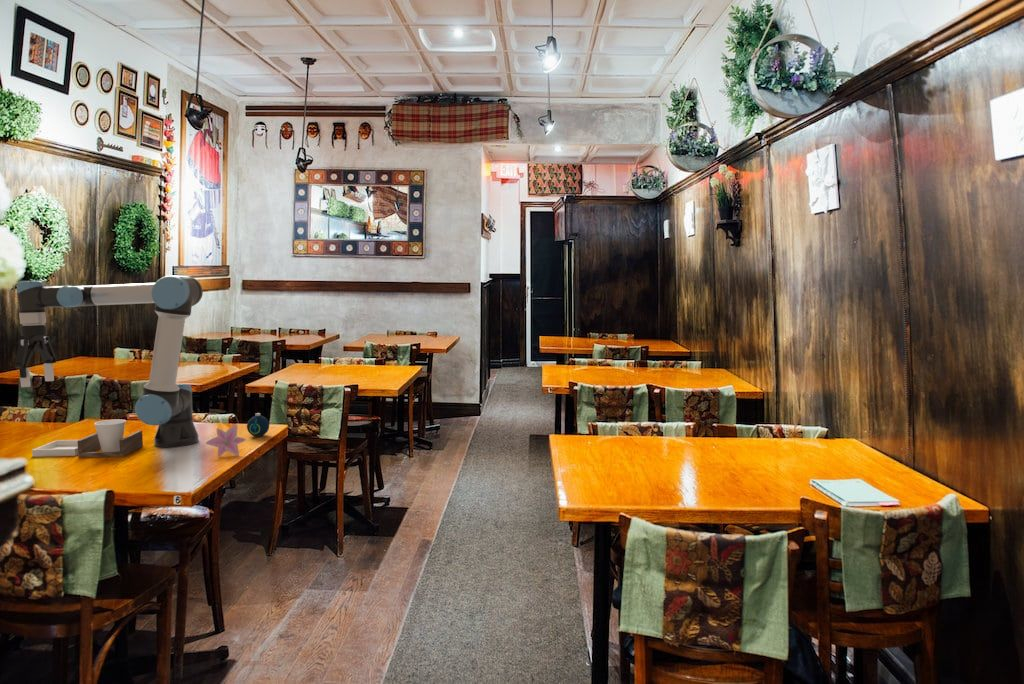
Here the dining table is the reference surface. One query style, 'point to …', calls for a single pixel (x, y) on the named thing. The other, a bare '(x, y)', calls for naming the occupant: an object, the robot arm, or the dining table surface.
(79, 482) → the dining table surface
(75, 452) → the tray
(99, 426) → the cup
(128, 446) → the cup holder
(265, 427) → the christmas ornament
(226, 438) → the lily
